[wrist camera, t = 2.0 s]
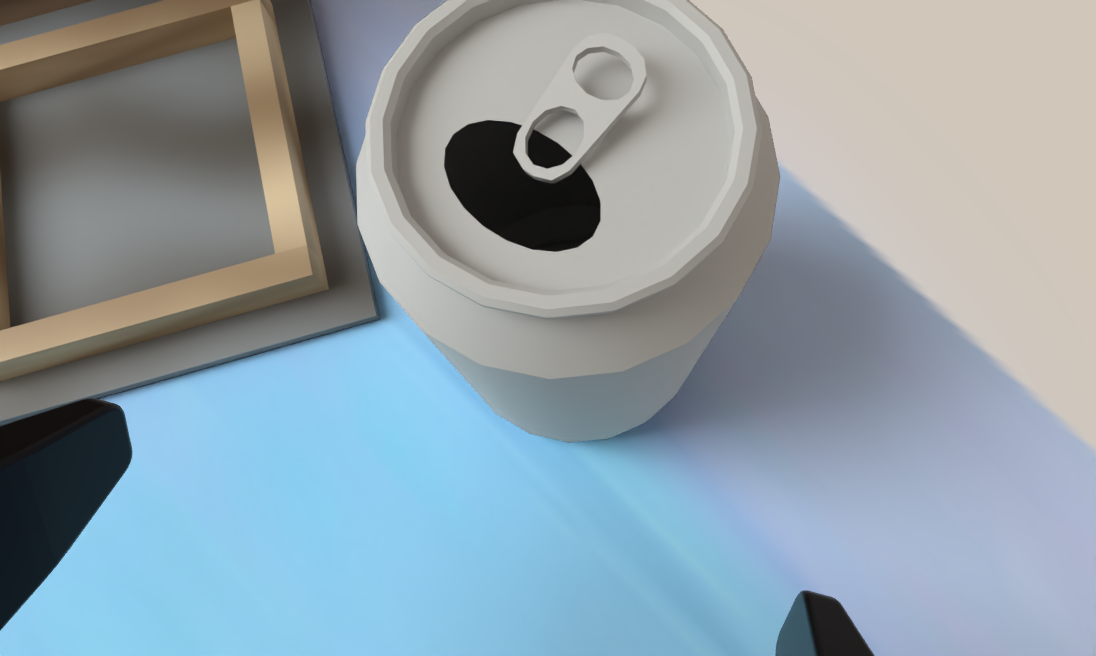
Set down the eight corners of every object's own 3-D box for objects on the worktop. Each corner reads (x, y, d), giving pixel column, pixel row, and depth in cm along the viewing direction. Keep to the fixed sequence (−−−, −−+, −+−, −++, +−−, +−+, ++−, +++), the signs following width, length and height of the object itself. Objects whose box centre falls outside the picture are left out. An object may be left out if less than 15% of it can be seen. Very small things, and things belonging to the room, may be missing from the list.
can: (410, 343, 23) (220, 156, 11) (560, 174, 24) (529, -152, 12) (595, 497, 21) (596, 466, 9) (745, 308, 22) (908, 76, 11)
